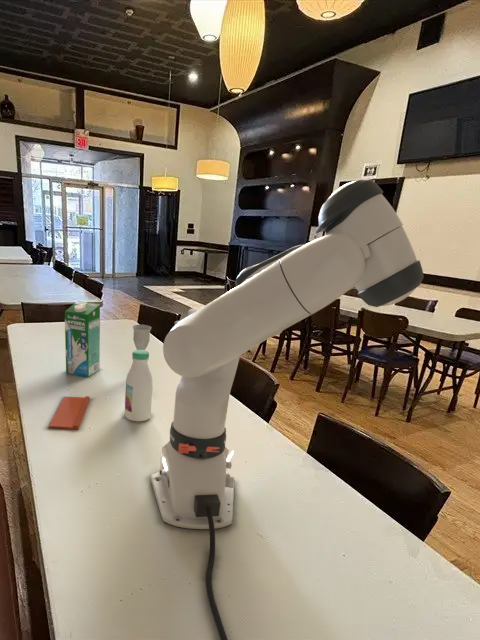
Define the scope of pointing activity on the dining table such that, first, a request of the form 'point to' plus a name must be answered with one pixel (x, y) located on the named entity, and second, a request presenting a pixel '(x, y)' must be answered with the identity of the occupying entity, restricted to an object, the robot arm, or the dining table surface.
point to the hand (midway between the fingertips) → (177, 334)
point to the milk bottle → (138, 388)
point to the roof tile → (70, 413)
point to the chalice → (141, 336)
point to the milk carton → (82, 338)
